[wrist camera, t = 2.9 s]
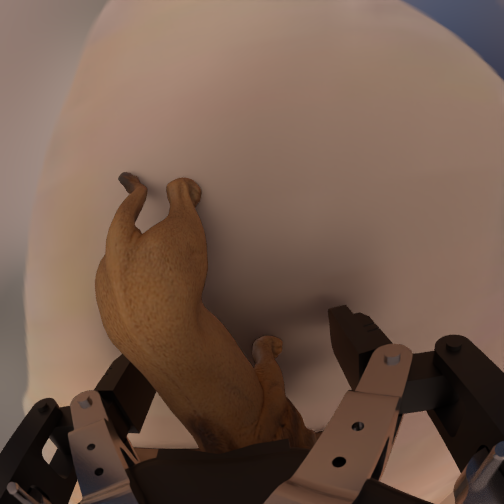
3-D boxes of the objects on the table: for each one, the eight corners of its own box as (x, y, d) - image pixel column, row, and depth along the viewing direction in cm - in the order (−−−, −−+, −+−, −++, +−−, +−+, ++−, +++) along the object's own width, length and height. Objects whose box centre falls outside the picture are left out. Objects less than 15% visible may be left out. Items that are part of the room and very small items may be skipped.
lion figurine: (339, 377, 14) (395, 512, 5) (258, 419, 15) (265, 553, 6) (170, 139, 11) (27, 63, 2) (86, 212, 12) (-71, 256, 3)
